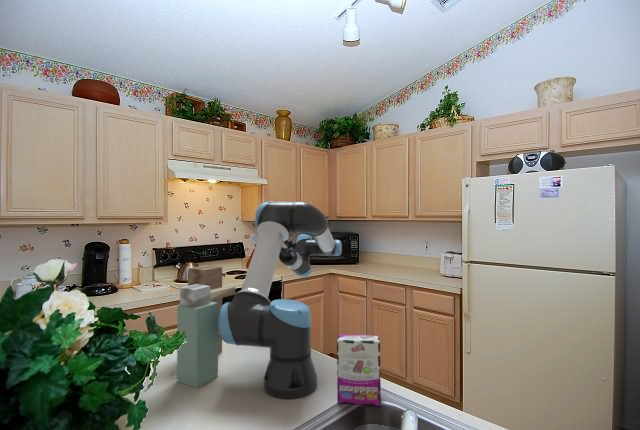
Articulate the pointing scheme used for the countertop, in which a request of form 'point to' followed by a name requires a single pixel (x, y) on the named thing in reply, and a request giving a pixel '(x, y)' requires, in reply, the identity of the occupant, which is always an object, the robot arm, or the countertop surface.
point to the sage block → (198, 344)
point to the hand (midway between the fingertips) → (264, 236)
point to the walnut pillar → (209, 278)
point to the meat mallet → (203, 294)
